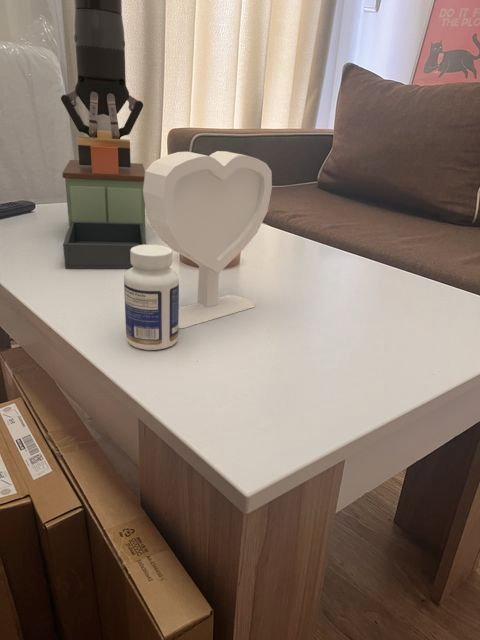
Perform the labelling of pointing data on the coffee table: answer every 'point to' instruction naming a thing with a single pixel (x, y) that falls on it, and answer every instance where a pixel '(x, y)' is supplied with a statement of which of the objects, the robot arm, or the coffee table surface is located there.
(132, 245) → the tray
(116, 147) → the block
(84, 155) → the brush
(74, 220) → the cabinet
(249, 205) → the heart sculpture
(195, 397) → the coffee table surface
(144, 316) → the pill bottle
